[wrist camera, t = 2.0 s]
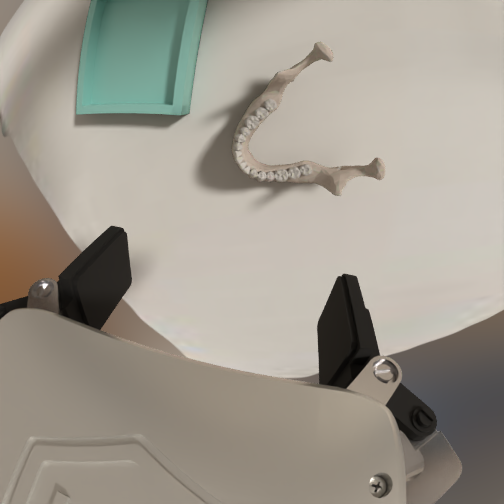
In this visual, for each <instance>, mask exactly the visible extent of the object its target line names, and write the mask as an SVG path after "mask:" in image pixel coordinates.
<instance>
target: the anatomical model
mask: <svg viewBox="0 0 504 504" xmlns="http://www.w3.org/2000/svg"><path fill="white" fill-rule="evenodd" d="M320 59H323V60H326V61H329V62H330V61H332V60H333V52H332V50H331V49H330V48H329V47H328V46H326V45H325V44H324V43H322V42H317V43H315V45H314V49H313V50H312V52H311V53H310V54H309V55H308V56H307V57H306V58H305V59H304V60H302V61H301V62H299V63H298V64H296V65H294V66H293V67H292V68H290V69H287V70H284V71H280V72H278V73H276V74H275V76H274V78H273V79H272V80H271V81H270V82H269V84H268V87H267V88H266V89H265V91H264V92H263V93H262V94H261V95H260V96H259V97H257V98H256V99H255V100H254V101H253V102H252V103H251V104H250V106H249V107H248V109H247V111H246V112H245V114H244V116H243V117H242V119H241V121H240V122H239V124H238V126H237V128H236V131H235V134H234V137H233V144H232V154H233V157H234V160H235V162H236V163H237V165H238V166H239V168H240V169H241V170H242V172H243V173H245V174H248V175H249V177H250V178H256V179H257V181H259V182H261V181H267V182H272V181H276V182H285V181H286V182H294V183H316V184H319V185H321V186H323V187H324V188H326V189H327V190H328V191H330V192H331V193H332V194H334V195H337V196H341V195H342V194H341V192H342V190H343V188H344V187H345V185H346V183H347V182H348V181H349V180H351V179H352V178H354V177H358V176H368V177H374V178H376V179H378V180H381V179H383V178H384V176H385V164H384V162H383V160H381V159H380V158H375V159H374V160H373V161H372V163H370V164H369V165H366V166H341V167H333V168H328V167H324V166H321V165H319V164H316V163H314V162H311V161H301V162H298V163H294V164H287V165H275V166H270V165H266V164H262V163H259V162H258V161H257V160H256V159H254V157H253V155H252V154H251V153H250V152H249V149H248V143H249V141H250V139H251V137H252V135H253V133H254V132H255V131H256V129H257V128H258V127H259V126H260V124H261V123H262V122H263V121H264V120H265V119H266V118H267V117H268V116H269V115H270V114H271V113H272V112H273V111H275V110H276V109H277V108H278V107H279V105H280V102H281V99H282V95H283V92H284V90H285V88H286V86H287V85H288V84H289V83H290V82H292V81H294V79H295V77H296V76H297V75H298V74H299V73H300V72H301V71H302V70H303V69H304V68H306V67H307V66H309V65H310V64H312V63H313V62H315V61H318V60H320Z"/></svg>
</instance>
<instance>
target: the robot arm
mask: <svg viewBox="0 0 504 504" xmlns="http://www.w3.org/2000/svg"><path fill="white" fill-rule="evenodd" d="M131 282H132V277H131V269H130V260H129V251H128V240H127V233H126V232H124V229H123V228H120V227H116V226H110V227H109V228H108V229H107V230H106V231H105V232H104V233H102V234H101V235H100V236H99V237H98V238H97V239H96V240H95V241H94V242H93V243H92V244H90V245H89V246H88V247H87V248H86V249H85V250H84V251H83V252H82V253H81V254H80V255H79V256H78V257H77V258H76V259H75V260H74V261H73V262H72V263H71V264H70V265H69V266H68V267H67V268H66V269H65V270H64V271H63V272H62V273H61V274H60V275H59V281H58V282H56V281H55V280H53V279H49V278H46V279H41V280H38V281H37V282H35V283H34V284H33V285H32V286H31V287H30V289H29V292H28V296H27V297H23V298H19V299H16V300H12V301H9V302H6V303H2V304H0V504H434V503H435V502H436V501H437V500H438V499H439V498H440V497H441V496H442V495H443V494H444V493H445V492H446V491H447V490H448V489H449V488H450V487H451V486H452V485H453V484H454V483H455V482H456V481H457V480H458V478H459V477H460V475H461V472H462V464H461V462H460V460H459V458H458V457H457V455H456V453H455V452H454V450H453V449H452V447H451V446H450V444H449V443H448V441H447V440H446V438H445V437H444V435H443V434H442V432H441V431H439V432H437V431H436V429H435V428H436V426H437V420H436V416H435V414H434V412H433V411H432V410H431V409H430V408H429V407H428V406H427V405H426V404H425V403H423V402H422V401H421V400H420V399H419V398H418V397H416V396H415V395H414V394H413V393H412V392H410V391H409V390H408V389H407V388H406V387H405V386H403V385H402V384H401V383H400V382H401V379H402V372H401V369H400V367H399V365H398V364H397V363H396V362H395V361H394V360H393V359H391V358H389V357H386V356H380V353H379V349H378V345H377V340H376V336H375V332H374V328H373V324H372V320H371V316H370V312H369V310H368V309H366V308H365V305H364V301H363V297H362V294H361V290H360V286H359V283H358V279H357V277H356V276H353V275H348V274H343V275H342V276H338V277H337V279H336V282H335V284H334V286H333V289H332V291H331V294H330V296H329V298H328V301H327V303H326V305H325V307H324V310H323V312H322V314H321V316H320V319H319V321H318V326H317V332H318V353H319V384H316V383H309V382H302V381H296V380H289V379H284V378H278V377H272V376H266V375H260V374H255V373H250V372H245V371H240V370H235V369H231V368H226V367H222V366H217V365H213V364H209V363H205V362H201V361H197V360H193V359H189V358H185V357H182V356H178V355H174V354H171V353H167V352H164V351H160V350H157V349H154V348H151V347H147V346H144V345H141V344H138V343H135V342H132V341H129V340H126V339H123V338H120V337H117V336H115V335H112V334H109V333H106V332H103V331H101V330H100V329H101V328H102V326H103V325H104V323H105V322H106V320H107V319H108V317H109V316H110V314H111V313H112V311H113V310H114V309H115V307H116V306H117V304H118V303H119V301H120V300H121V298H122V297H123V296H124V294H125V293H126V291H127V290H128V289H129V287H130V285H131Z"/></svg>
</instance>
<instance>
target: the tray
mask: <svg viewBox="0 0 504 504" xmlns="http://www.w3.org/2000/svg"><path fill="white" fill-rule="evenodd" d="M207 2H208V0H91V3H90V7H89V11H88V16H87V21H86V26H85V31H84V37H83V43H82V49H81V57H80V65H79V75H78V86H77V104H76V115H77V114H97V113H147V114H168V115H185V114H189V112H190V104H191V96H192V88H193V81H194V74H195V67H196V61H197V55H198V49H199V43H200V37H201V32H202V27H203V21H204V16H205V12H206V7H207Z"/></svg>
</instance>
